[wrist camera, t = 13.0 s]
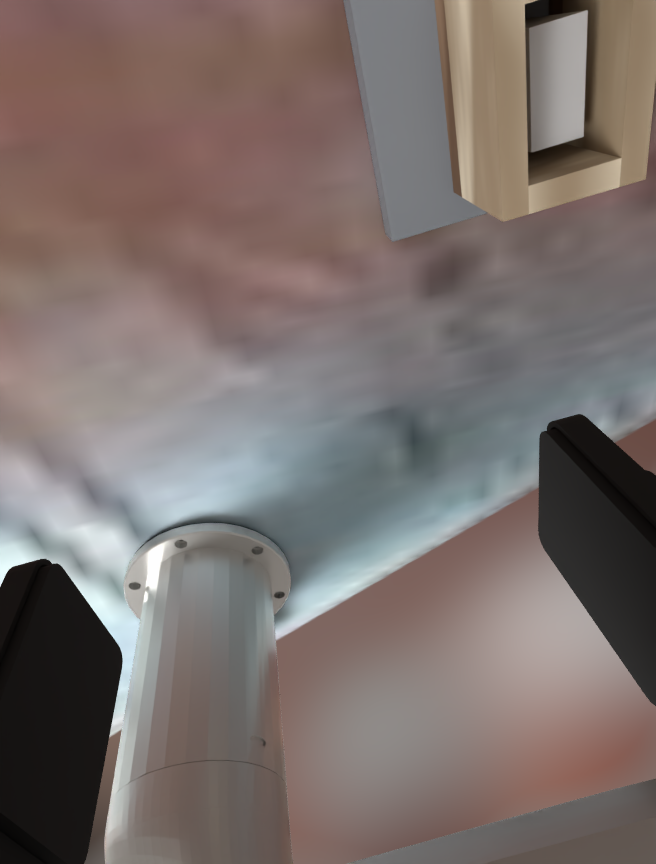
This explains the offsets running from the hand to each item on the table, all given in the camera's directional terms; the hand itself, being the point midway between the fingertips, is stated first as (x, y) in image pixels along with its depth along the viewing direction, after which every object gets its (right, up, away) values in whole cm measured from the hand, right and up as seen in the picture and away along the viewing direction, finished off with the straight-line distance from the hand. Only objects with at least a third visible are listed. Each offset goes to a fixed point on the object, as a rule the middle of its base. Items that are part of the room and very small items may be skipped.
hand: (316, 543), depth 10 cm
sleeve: (+8, +18, +14) cm, 24 cm away
